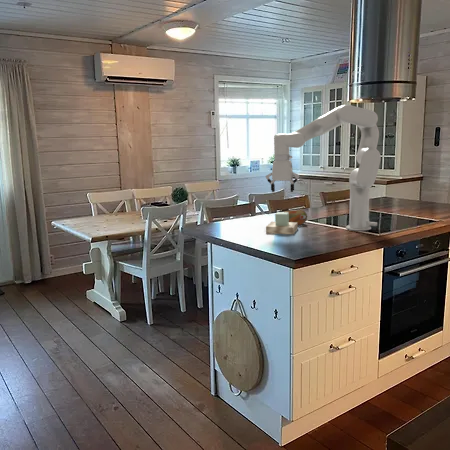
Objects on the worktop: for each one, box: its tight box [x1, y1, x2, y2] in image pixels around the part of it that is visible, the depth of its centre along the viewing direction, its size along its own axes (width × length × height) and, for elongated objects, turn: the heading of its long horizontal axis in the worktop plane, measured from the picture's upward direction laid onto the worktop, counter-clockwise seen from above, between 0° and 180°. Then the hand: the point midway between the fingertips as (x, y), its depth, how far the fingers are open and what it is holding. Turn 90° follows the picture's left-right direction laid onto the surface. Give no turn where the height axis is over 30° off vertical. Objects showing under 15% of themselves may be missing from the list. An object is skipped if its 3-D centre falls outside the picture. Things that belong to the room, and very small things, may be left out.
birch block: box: [265, 221, 299, 235], centre depth 244 cm, size 14×14×4 cm
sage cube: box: [274, 211, 289, 226], centre depth 243 cm, size 6×6×6 cm
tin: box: [284, 209, 308, 226], centre depth 260 cm, size 15×3×8 cm, turn 105°
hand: (282, 191), depth 241 cm, fingers open, 9 cm apart
